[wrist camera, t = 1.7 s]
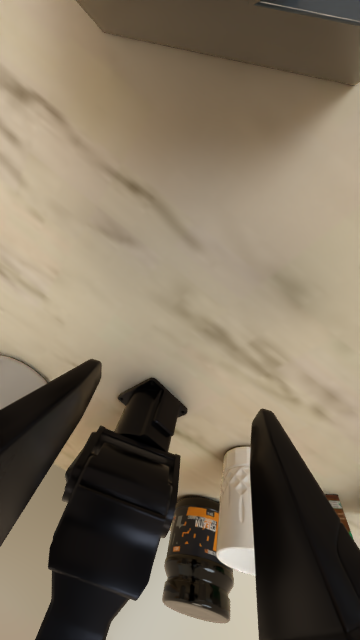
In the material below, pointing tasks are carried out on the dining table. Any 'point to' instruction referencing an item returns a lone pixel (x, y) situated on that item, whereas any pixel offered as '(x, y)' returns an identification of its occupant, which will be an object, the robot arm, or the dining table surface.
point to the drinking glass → (236, 513)
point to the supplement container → (197, 563)
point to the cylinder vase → (16, 380)
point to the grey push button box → (246, 31)
